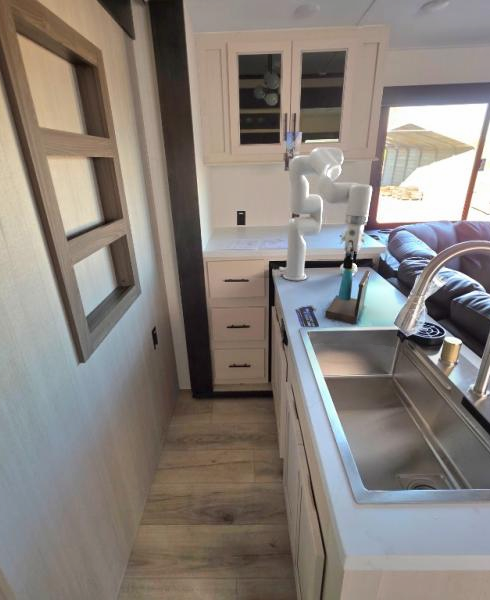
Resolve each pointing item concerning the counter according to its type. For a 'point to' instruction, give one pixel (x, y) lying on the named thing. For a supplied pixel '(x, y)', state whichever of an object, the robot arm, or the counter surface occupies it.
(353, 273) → the flower vase
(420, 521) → the counter surface
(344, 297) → the tube
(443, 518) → the counter surface
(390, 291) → the counter surface
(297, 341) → the counter surface
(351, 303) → the dark wooden bookend
